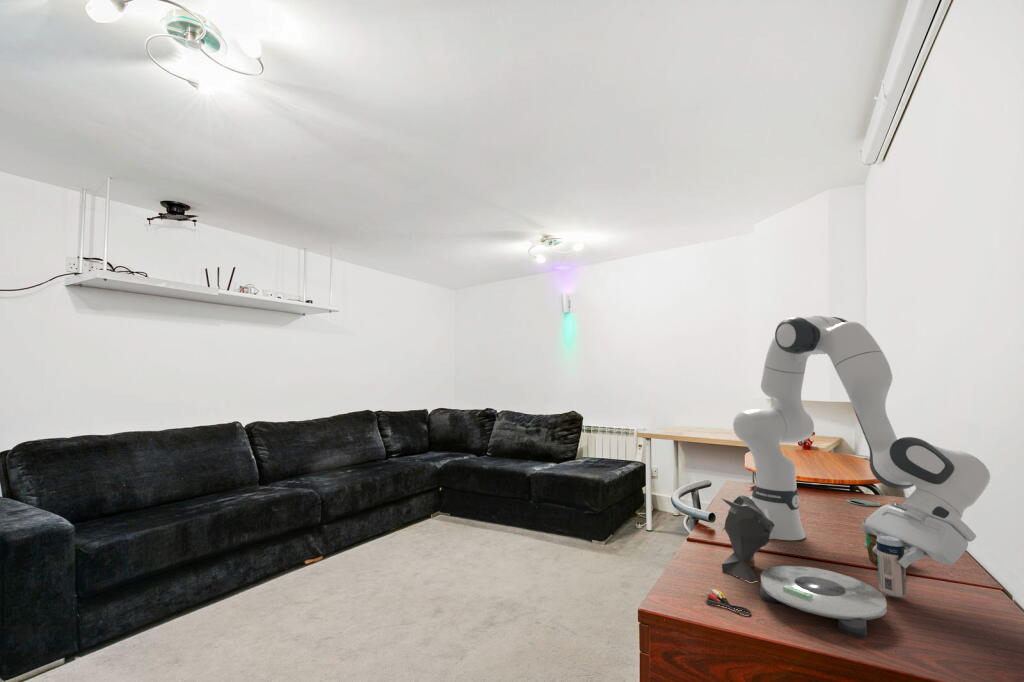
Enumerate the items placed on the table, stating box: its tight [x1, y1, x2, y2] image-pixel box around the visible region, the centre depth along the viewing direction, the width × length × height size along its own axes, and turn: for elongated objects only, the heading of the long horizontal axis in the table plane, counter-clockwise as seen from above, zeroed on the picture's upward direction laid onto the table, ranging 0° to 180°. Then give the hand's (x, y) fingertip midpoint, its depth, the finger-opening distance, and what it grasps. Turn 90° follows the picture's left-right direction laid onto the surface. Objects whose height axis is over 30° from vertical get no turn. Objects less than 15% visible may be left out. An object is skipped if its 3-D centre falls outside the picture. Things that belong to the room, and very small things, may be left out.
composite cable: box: [704, 587, 752, 616], centre depth 98 cm, size 10×5×2 cm, turn 26°
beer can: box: [876, 535, 908, 598], centre depth 103 cm, size 5×5×12 cm
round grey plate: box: [759, 565, 888, 638], centre depth 98 cm, size 22×22×6 cm
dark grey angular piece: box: [720, 495, 775, 582], centre depth 120 cm, size 14×15×18 cm
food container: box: [860, 518, 878, 566], centre depth 125 cm, size 12×6×10 cm, turn 111°
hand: (888, 558), depth 103 cm, fingers closed on beer can, 5 cm apart
